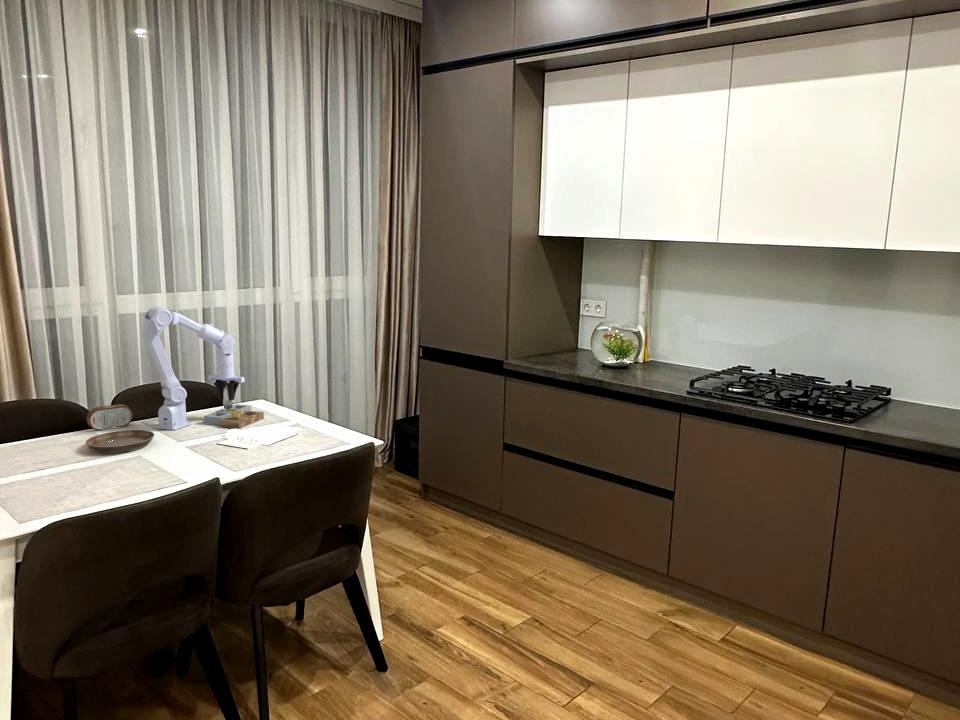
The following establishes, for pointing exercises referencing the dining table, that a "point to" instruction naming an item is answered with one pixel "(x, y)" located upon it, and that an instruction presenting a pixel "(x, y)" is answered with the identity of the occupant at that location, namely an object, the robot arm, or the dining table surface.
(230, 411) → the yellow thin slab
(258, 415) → the drill block
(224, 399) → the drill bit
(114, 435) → the plant saucer
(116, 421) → the tin
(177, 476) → the dining table surface
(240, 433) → the white book
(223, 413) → the rack
